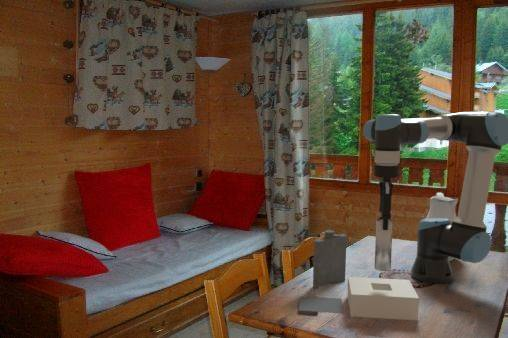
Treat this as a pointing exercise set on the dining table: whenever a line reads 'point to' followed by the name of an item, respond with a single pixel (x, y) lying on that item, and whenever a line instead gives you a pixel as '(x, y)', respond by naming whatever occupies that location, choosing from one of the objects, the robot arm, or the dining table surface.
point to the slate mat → (320, 305)
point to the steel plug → (383, 246)
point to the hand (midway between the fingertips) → (383, 237)
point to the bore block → (382, 298)
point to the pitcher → (442, 208)
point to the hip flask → (329, 259)
